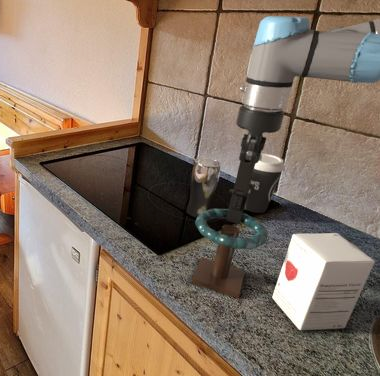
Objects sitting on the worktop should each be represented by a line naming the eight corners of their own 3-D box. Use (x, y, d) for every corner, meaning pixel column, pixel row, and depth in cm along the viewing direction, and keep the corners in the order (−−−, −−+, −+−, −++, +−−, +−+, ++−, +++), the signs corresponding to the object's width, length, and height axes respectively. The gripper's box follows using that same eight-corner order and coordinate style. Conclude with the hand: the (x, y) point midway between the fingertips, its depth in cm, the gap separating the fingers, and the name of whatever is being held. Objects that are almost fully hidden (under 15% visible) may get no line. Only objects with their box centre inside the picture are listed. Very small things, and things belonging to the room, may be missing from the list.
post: (244, 274, 86) (258, 225, 81) (238, 298, 79) (253, 246, 74) (200, 261, 90) (211, 213, 85) (191, 283, 83) (202, 232, 78)
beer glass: (178, 209, 113) (188, 159, 106) (197, 204, 116) (207, 155, 109) (197, 221, 107) (208, 168, 101) (216, 215, 110) (228, 164, 104)
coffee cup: (244, 197, 121) (257, 149, 115) (278, 208, 115) (292, 159, 108) (229, 206, 115) (240, 156, 109) (262, 219, 109) (277, 167, 103)
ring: (267, 226, 83) (270, 217, 82) (263, 259, 72) (266, 249, 71) (201, 209, 88) (203, 201, 87) (189, 237, 78) (191, 229, 77)
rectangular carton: (269, 297, 80) (290, 232, 74) (312, 296, 81) (337, 231, 74) (298, 331, 72) (325, 261, 65) (346, 329, 72) (377, 260, 66)
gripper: (245, 97, 82) (221, 200, 92) (234, 112, 70) (208, 229, 80) (286, 102, 79) (257, 209, 89) (283, 119, 67) (249, 240, 77)
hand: (234, 218), depth 84 cm, fingers closed on ring, 2 cm apart
